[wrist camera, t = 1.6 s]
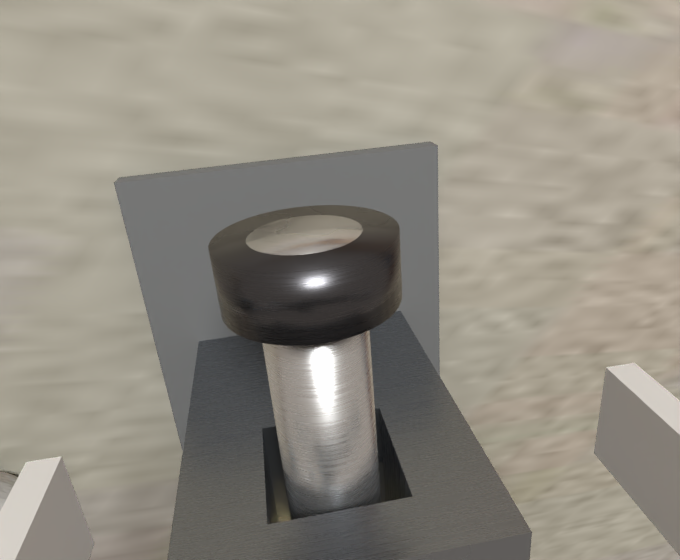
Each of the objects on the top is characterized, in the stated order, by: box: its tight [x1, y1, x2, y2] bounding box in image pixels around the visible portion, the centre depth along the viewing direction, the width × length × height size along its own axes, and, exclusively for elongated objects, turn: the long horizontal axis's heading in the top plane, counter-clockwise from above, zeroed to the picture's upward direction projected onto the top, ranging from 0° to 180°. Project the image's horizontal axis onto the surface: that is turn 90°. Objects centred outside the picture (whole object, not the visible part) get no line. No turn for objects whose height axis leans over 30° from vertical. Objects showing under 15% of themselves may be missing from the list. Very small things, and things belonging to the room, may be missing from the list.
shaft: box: [208, 205, 402, 520], centre depth 20 cm, size 5×24×5 cm, turn 5°
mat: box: [114, 142, 440, 450], centre depth 29 cm, size 14×24×1 cm, turn 5°
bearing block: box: [168, 311, 532, 560], centre depth 23 cm, size 10×8×15 cm
